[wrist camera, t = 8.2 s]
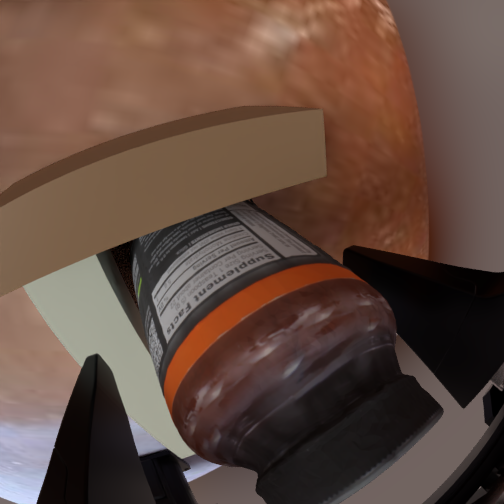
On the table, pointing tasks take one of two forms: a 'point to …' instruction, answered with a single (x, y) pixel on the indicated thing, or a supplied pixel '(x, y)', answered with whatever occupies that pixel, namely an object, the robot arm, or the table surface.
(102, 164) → the wall board
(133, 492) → the robot arm
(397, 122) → the table surface
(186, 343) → the supplement bottle
